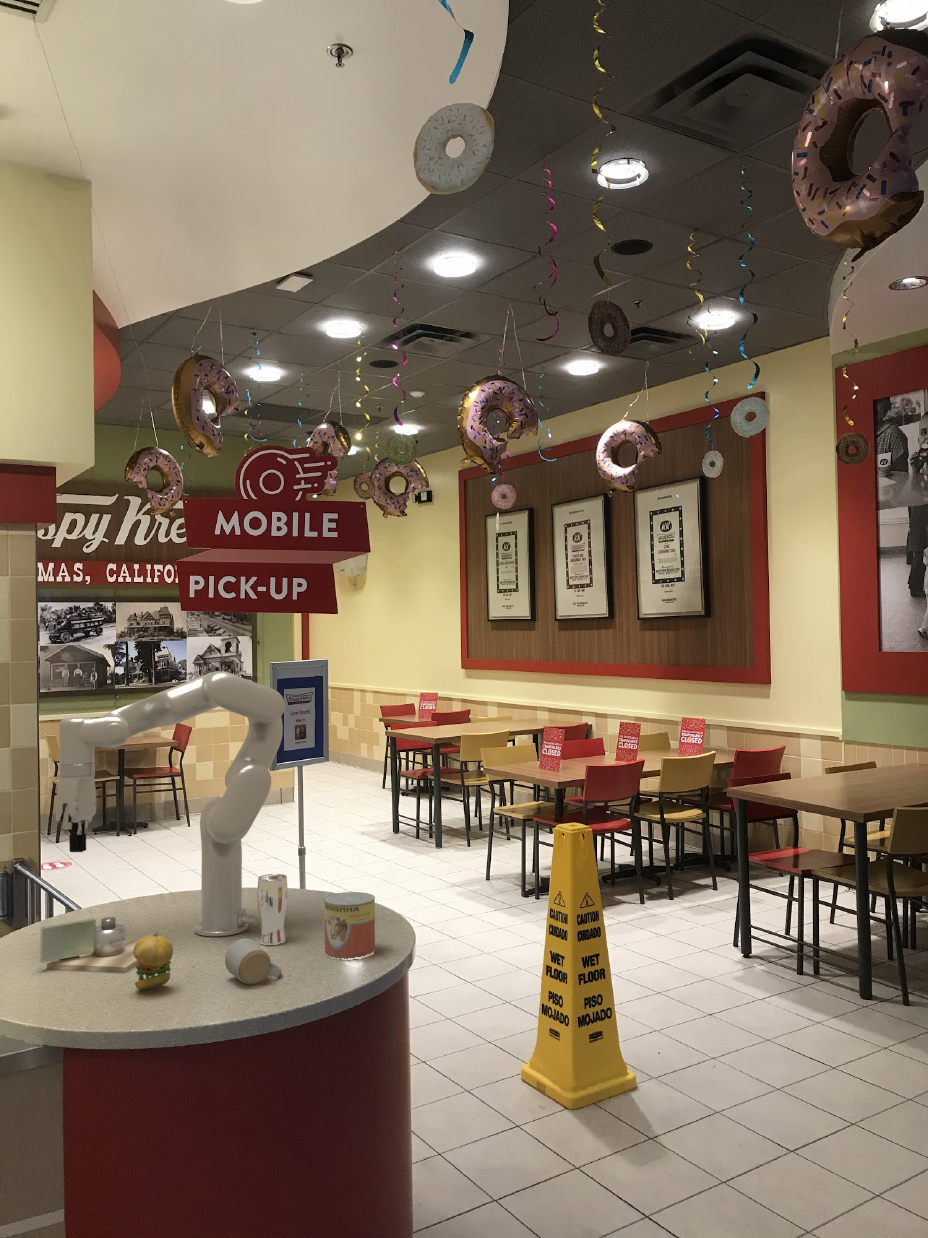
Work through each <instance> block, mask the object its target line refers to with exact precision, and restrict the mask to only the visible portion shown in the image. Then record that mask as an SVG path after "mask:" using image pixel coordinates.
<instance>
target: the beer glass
mask: <svg viewBox="0 0 928 1238" xmlns="http://www.w3.org/2000/svg"><path fill="white" fill-rule="evenodd" d="M288 887H289V886H288V875H286V874H284V873H270V874H269V873H268V874H262V875H260V876H258V879H257V890H256V898H257V900H256V901H257V908H258V910H257V911H258V915H259V920H260V933H259V934H260V935H259V941H258V942H259V945H261V944H263V945H262V946H264V945H274V944H280V943H283V942H284V941H287V938H286V934H285V932H286V931H285V919H286V913H287V908H288V901H289V900H288V898H289V891H288V890H289V888H288ZM283 944H284V943H283Z"/></svg>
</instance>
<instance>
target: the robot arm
mask: <svg viewBox="0 0 928 1238" xmlns="http://www.w3.org/2000/svg"><path fill="white" fill-rule="evenodd" d="M218 707H220V708H221V709H224V710H227V711H229V712H232V713H234V714H237V715H241V716H243V717H246V718H247V721H248V731H247V734H246V736H245V739H244V741H243V742H242V745H241V747H240V748H239V750H238V751H237V754H236V755H235V757H234V759H233V761H232V762H231V764H230V766H229V767H228V769H227V771H226V773H225V774H224V775H225V776H224V785H225V787H226V790H225V791H224V793H223V795H222V797H218V798H215V799H212V800H210V801H209V802H208V803H206V804H205V806H203V808H202V811H201V814H200V816H199V817H200V818H199V819H200V820H199V831H200V832H199V833H200V843H201V844H200V845H201V903H200V904H201V907H200V908H201V911H200V912H201V913H200V915H201V916H200V919H201V921H200V922H199V923H197V924H196V925H195V926H194V933H195V934H196V935H199V936H203V937H226V936H233V935H237V934H241V933H243V932H244V931H246V930H248V928H249V925H252V926H253V925H257V923H258V916H257V915H256V914H247V912H246V910H247V909H246V907H245V908H243V904H242V903H243V902H242V901H243V899H242V898H243V897H242V896H243V895H242V894H243V891H242V890H243V889H242V888H243V887H242V884H243V879H242V877H243V876H242V875H243V873H242V872H243V871H242V870H243V869H242V868H243V848H242V840H243V838H244V837H246V836H247V834H248V832H249V831H250V830H251V827H252V825H254V823H255V822H254V821H256V818H257V817H258V815H259V812H260V811H261V809H262V807H263V805H264V803H265V801H266V800H267V798H268V795H269V794H270V790H271V787H272V776H271V774H270V770H269V769H270V767H271V765H272V763H273V761H274V759H275V757H276V754H277V752H278V750H279V748H280V746H281V743H282V739H283V734H284V733H283V718H282V716H283V715H284V712H285V707H286V704H285V700H284V697H283V696H282V694H281V693H280V692H279V691H277V690H275V689H273V688H271V687H269V686H266V685H263V684H260V683H258V682H255V681H253V680H249V679H246V678H243V677H242V676H239V675H236V674H234V673H233V672H228V671H225V670H224V671H222V670H221V671H219V670H216V671H212V672H209V673H206V674H204V675H201V676H198V677H196V678H194V679H193V678H192V680H191V679H190V680H189V681H185V682H183V683H181V684H179V685H176V686H173V687H170V688H168V689H164V690H163V691H160V692H157V693H155V694H152V695H151V696H148V697H146V698H143V699H141V700H138V701H135V702H132V703H131V704H128V705H124V706H122V707H120V708H117V709H115V710H112V711H109V712H107V713H105V714H103V715H100V717H95V718H93V717H92V718H91V717H88V716H72V717H65V718H62V719H61V720H60V721H59V728H58V729H59V733H58V735H59V736H58V737H59V738H58V739H59V744H58V745H59V753H58V754H59V755H58V756H59V761H58V762H59V779H58V783H57V788H56V789H57V790H56V799H55V821H56V823H58V824H60V823H61V824H62V827H61V828H62V829H63V830H67V834H68V835H69V841H68V842H69V852H70V853H83V852H85V851H87V833H88V828H89V824H90V823H91V822H92V821H93V817H94V816H95V815H96V813H97V792H96V782H95V777H96V773H95V772H96V769H95V768H96V765H95V763H96V762H95V761H96V758H95V755H96V754H95V748H106V749H113V748H119V747H121V746H123V745H125V744H126V743H127V742H128V740H129V738H131V737H133V736H136V735H138V734H141V733H144V732H147V731H149V730H153V729H155V728H161V727H170V726H173V725H177V724H179V723H183V722H185V721H186V720H190V719H192V718H194V717H196V716H198V715H199V716H200V715H202V714H204V713H206V712H208V711H211V710H214V709H216V708H218Z"/></svg>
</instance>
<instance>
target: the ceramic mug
mask: <svg viewBox="0 0 928 1238" xmlns="http://www.w3.org/2000/svg"><path fill="white" fill-rule="evenodd" d="M224 965H225V968H226V970H227V972H228V973H230V974H231V975H232V976H233V977H235V978H236V979H238V980H239V981H240V982H241V983H243V984H246V985H250V986H254V985H258V984H260V983H262V982H263V981H264V980H266V978H267V977H268V976H270V977H275V978H279V977H280V975H281V973H282V971H283V969H282V967H280V966H279V965H278V964H275V963H273V962H271V957H270V955H269V954H268V952H267V951H266V950H265V949H264V948H262V947H261V946H260V944H258V943H257V942H256V941H255V940H253V939H251V938H247V937H246V938H245V937H244V938H239V939H237V940H236V941H234V942H232V943H231V945H229V947H228V948H227V951H226V952H225V957H224Z"/></svg>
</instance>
